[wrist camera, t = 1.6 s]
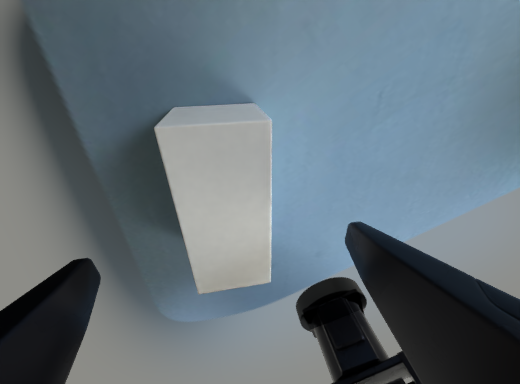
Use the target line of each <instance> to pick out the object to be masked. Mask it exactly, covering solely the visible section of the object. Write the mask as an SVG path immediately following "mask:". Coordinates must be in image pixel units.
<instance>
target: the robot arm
mask: <svg viewBox="0 0 520 384" xmlns="http://www.w3.org/2000/svg"><path fill="white" fill-rule="evenodd" d="M345 244H346V246H347V249H348V251H349V253H350V255H351V258H352V260H353V262H354V264H355V266H356V269H357V270H358V273H359V275H360V277H361V279H362V281H363V283H364V285H365V287H366V289H367V290H368V292H369V294H370V295H371V297H372V299H373V301H374V302H375V304H376V306H377V308H378V309H379V311H380V313H381V314H382V316H383V318H384V320H385V321H386V323H387V325H388V326H389V328H390V330H391V332H392V333H393V335H394V337H395V338H396V340H397V342H398V344H399V345H400V347H401V349H402V351H401V352H399V353H397V354H398V355H396V356H393V357H391V358H389V357H388V355H387V354H386V352H385V350H384V349H383V347H382V345H381V343H380V342H379V340H378V338H377V336H376V335H375V333H374V331H373V330H372V328H371V326H370V325H369V323H368V321H367V320H366V318H365V316H364V311H363V306H362V302H361V297H360V293H359V292H358V290H357V289H352V290H350V291H347V292H345V293H342V294H340V295H337V296H335V297H332V298H330V299H327V300H324V301H322V302H319V303H317V304H314V305H312V306H309V307H307V308H304V309H303V310H302V314H303V316H304V318H305V320H306V322H307V324H308V326H309V327H310V329H311V331H312V333H313V335H314V337H315V338H317V339H318V342H319V345H320V347H321V350H322V353H323V356H324V358H325V361H326V364H327V367H328V369H329V372H330V375H331V378H332V380H333V383H332V384H405V382H404V380H403V379H405V378H408V377H410V378H411V379H412V382H410V383H408V384H520V299H518V298H516V297H513V296H511V295H509V294H507V293H505V292H503V291H501V290H499V289H497V288H495V287H493V286H491V285H488V284H486V283H484V282H482V281H481V280H478V279H475V278H474V277H472V276H470V275H468V274H466V273H464V272H462V271H460V270H458V269H456V268H454V267H452V266H450V265H448V264H446V263H444V262H442V261H440V260H438V259H436V258H434V257H432V256H430V255H428V254H425V253H423V252H421V251H419V250H417V249H415V248H413V247H411V246H409V245H407V244H405V243H403V242H401V241H399V240H397V239H395V238H393V237H391V236H389V235H387V234H385V233H383V232H381V231H379V230H377V229H375V228H373V227H371V226H369V225H367V224H365V223H362V222H352V223H350V224H349V225H348V228H347V233H346V237H345ZM100 279H101V277H100V274H99V272H98V270H97V269H96V267H95V265H94V264H93V262H92V260H91V259H89V258H84V259H77V260H73V261H71V262H70V263H69V264H67V265H66V266H64V267H63V268H61V269H60V270H59V271H57V272H56V273H54V274H53V275H51V276H50V277H48V278H47V279H46V280H44V281H43V282H41V283H40V284H38V285H37V286H36V287H34V288H33V289H31V290H30V291H28V292H27V293H25V294H24V295H23V296H21V297H20V298H18V299H17V300H16V301H14V302H13V303H11V304H10V305H8V306H7V307H6V308H4V309H3V310H1V311H0V384H65V382H66V380H67V378H68V375H69V372H70V370H71V367H72V365H73V363H74V360H75V358H76V355H77V352H78V350H79V347H80V345H81V342H82V340H83V337H84V334H85V332H86V329H87V326H88V323H89V319H90V316H91V313H92V309H93V306H94V302H95V298H96V295H97V292H98V288H99V285H100Z"/></svg>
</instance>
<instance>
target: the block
mask: <svg viewBox="0 0 520 384" xmlns="http://www.w3.org/2000/svg"><path fill="white" fill-rule="evenodd" d="M154 131H155V135H156V138H157V142H158V146H159V150H160V153H161V157H162V161H163V164H164V168H165V172H166V176H167V179H168V183H169V187H170V191H171V194H172V198H173V202H174V205H175V209H176V213H177V217H178V220H179V224H180V228H181V231H182V235H183V239H184V243H185V246H186V250H187V254H188V258H189V261H190V265H191V269H192V272H193V276H194V280H195V284H196V287H197V291H198V294H205V293H211V292H217V291H223V290H229V289H235V288H241V287H247V286H253V285H259V284H265V283H270V282H271V207H272V120H271V119H270V118H269V117H268V116H267V115H266V114H265V113H264V112H263V111H262V110H261V109H260V108H259V107H258V106H257V105H256V104H255V103H248V104H228V105H208V106H189V107H174V108H172V109H171V111H170V112H169V113H168V114H167V115H166V116H165V117H164V118H163V119H162V120H161V121H160V122H159V123H158V124H157V125H156V126H155V127H154Z"/></svg>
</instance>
